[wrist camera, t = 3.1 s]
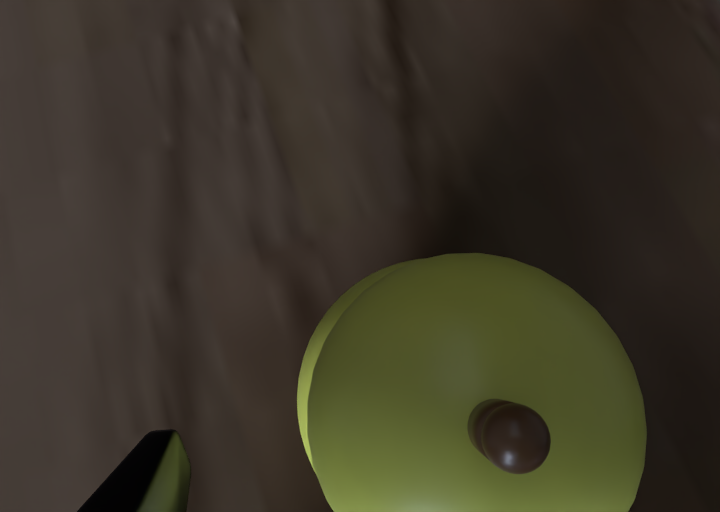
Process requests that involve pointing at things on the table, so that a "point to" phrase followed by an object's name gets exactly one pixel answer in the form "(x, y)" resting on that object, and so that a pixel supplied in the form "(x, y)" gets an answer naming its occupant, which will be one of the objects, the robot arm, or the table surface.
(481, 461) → the pear
